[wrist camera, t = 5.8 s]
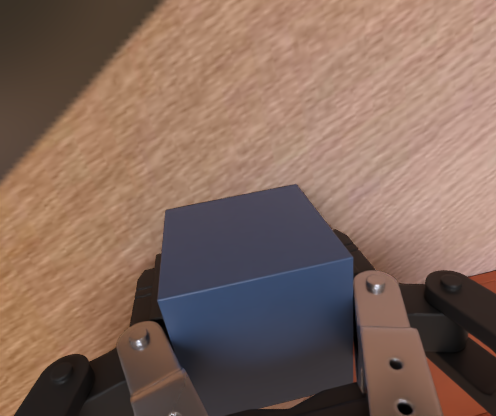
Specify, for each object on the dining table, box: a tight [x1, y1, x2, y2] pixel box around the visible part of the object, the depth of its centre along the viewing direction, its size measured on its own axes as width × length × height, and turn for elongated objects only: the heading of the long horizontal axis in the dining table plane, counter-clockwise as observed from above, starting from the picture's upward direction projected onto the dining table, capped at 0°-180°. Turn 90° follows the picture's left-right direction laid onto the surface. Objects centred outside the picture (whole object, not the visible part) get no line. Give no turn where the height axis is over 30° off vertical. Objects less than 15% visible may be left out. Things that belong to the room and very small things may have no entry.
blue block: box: [157, 184, 353, 416], centre depth 12 cm, size 5×5×5 cm
